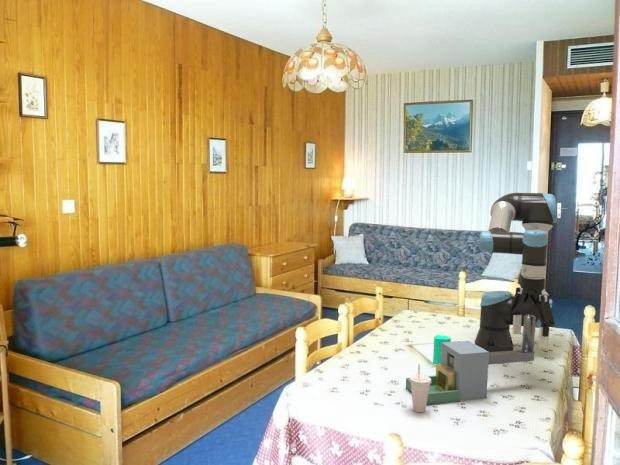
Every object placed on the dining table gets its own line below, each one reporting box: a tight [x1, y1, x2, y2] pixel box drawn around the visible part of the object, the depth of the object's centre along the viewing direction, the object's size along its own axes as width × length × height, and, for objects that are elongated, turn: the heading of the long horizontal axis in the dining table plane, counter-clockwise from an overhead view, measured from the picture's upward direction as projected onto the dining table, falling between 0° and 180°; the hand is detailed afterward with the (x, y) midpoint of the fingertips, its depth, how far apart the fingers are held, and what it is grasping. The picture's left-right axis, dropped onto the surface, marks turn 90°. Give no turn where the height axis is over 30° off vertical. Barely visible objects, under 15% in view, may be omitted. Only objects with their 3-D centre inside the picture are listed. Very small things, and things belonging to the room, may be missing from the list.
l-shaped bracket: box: [449, 315, 536, 368], centre depth 179 cm, size 30×4×15 cm, turn 105°
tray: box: [405, 375, 461, 406], centre depth 175 cm, size 12×14×4 cm
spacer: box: [435, 363, 456, 392], centre depth 176 cm, size 2×8×8 cm, turn 15°
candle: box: [432, 332, 452, 365], centre depth 203 cm, size 6×6×12 cm
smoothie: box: [409, 363, 431, 413], centre depth 164 cm, size 6×6×14 cm
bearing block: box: [441, 340, 489, 401], centre depth 178 cm, size 10×12×15 cm
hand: (529, 339), depth 183 cm, fingers open, 13 cm apart
